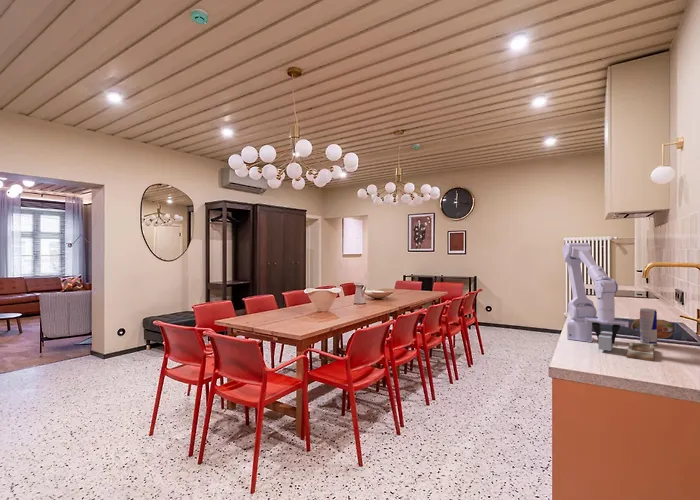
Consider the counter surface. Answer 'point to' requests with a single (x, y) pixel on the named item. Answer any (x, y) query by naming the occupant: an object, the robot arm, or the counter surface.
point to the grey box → (605, 341)
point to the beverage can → (648, 326)
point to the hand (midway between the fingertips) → (606, 342)
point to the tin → (663, 328)
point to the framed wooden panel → (641, 351)
